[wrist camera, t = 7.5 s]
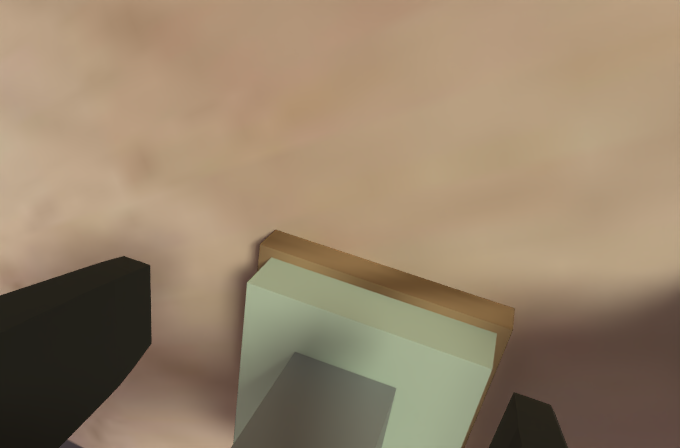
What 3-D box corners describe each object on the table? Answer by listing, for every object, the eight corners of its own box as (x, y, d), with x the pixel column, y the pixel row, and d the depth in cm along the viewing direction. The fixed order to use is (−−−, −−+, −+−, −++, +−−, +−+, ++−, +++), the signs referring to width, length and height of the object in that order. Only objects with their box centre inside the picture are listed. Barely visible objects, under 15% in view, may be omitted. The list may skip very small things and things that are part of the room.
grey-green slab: (496, 333, 19) (492, 369, 17) (436, 490, 23) (427, 531, 21) (271, 257, 21) (247, 282, 19) (254, 413, 25) (233, 446, 23)
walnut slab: (515, 300, 20) (512, 330, 18) (448, 466, 25) (441, 502, 23) (281, 224, 22) (259, 244, 21) (261, 389, 27) (242, 417, 25)
